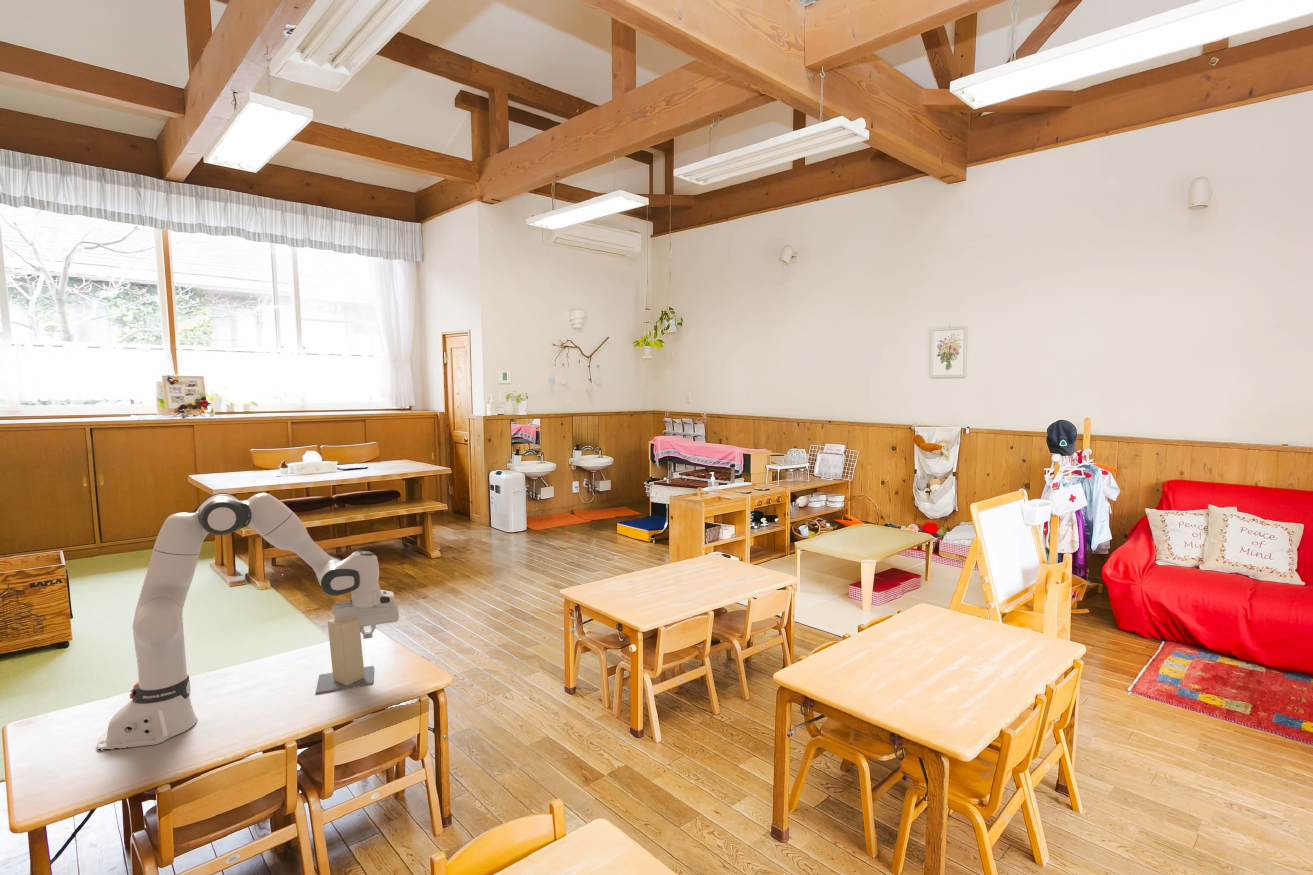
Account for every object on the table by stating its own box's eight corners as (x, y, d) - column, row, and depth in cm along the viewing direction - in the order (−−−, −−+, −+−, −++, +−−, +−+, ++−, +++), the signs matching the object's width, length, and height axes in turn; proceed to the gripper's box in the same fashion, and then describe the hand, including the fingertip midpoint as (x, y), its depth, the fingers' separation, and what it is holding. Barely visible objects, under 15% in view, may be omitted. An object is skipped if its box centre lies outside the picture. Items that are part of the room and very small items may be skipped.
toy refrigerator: (367, 676, 215) (361, 617, 212) (347, 686, 209) (340, 625, 206) (353, 670, 219) (347, 613, 217) (333, 680, 213) (326, 621, 211)
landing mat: (315, 694, 205) (315, 692, 205) (319, 676, 218) (319, 674, 218) (372, 684, 212) (372, 682, 211) (373, 667, 224) (373, 665, 224)
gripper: (331, 605, 207) (333, 646, 208) (398, 596, 215) (400, 636, 216) (332, 599, 213) (334, 639, 214) (398, 591, 221) (399, 629, 222)
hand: (368, 637), depth 215 cm, fingers closed
